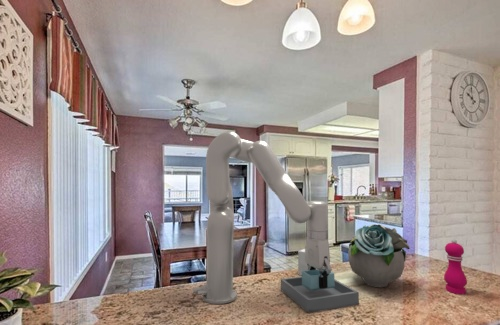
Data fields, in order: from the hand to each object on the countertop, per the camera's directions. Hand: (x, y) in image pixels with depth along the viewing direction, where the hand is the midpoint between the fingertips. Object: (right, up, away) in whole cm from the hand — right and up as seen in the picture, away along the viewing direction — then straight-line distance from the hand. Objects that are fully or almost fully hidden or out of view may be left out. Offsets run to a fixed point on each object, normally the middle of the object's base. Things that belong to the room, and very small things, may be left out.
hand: (317, 284), depth 102 cm
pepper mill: (+55, -6, +6) cm, 56 cm away
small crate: (0, -1, 0) cm, 1 cm away
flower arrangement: (+27, -6, +13) cm, 30 cm away
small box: (+1, -6, +25) cm, 26 cm away
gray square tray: (0, -4, 0) cm, 4 cm away
